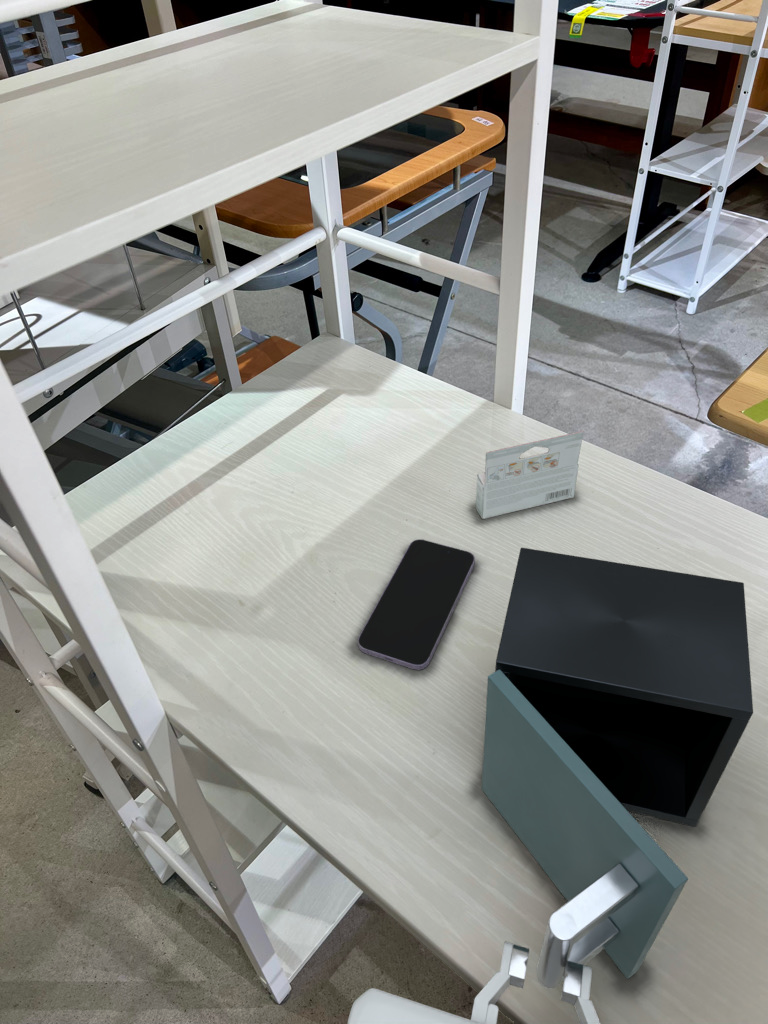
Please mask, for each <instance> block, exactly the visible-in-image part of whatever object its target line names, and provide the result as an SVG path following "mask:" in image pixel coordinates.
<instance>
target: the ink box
mask: <svg viewBox="0 0 768 1024" xmlns="http://www.w3.org/2000/svg"><path fill="white" fill-rule="evenodd" d="M584 433H585V432H584V430H581V431H577V432H573V433H569V434H568V433H567V434H563V435H558V436H555V437H550V438H545V439H541V440H536V441H531V442H527V443H522V444H518V445H513V446H508V447H504V448H499V449H495V450H492V451H491V450H490V451H487V452H485V467H484V472H480V473H478V474H476V487H475V489H476V490H475V492H476V493H475V494H476V495H475V509H476V511H477V513H478V515H479V516H480V518H481V519H482V520H486V519H489V518H493V517H497V516H501V515H502V516H503V515H506V514H510V513H514V512H518V511H522V510H523V511H524V510H527V509H531V508H535V507H540V506H544V505H548V504H553V503H556V502H561V501H564V500H568V499H573V498H574V497H575V492H576V488H577V487H576V485H577V479H578V472H579V468H580V467H579V466H580V465H579V460H580V453H581V448H582V442H583V437H584ZM535 447H537V448H544V449H548V451H547V452H542V453H538V454H534V455H530V456H525V457H521V455H522V454H524V453H526V452H527V451H529V450H531V449H533V448H535Z"/></svg>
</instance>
